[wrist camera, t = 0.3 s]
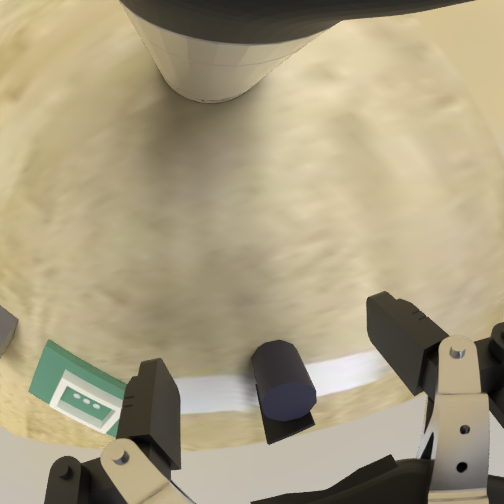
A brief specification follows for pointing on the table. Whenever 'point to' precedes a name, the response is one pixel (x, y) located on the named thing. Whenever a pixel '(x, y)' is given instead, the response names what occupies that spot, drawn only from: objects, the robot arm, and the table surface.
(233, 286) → the table surface
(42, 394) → the board
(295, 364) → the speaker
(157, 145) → the table surface
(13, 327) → the gray rectangular block
